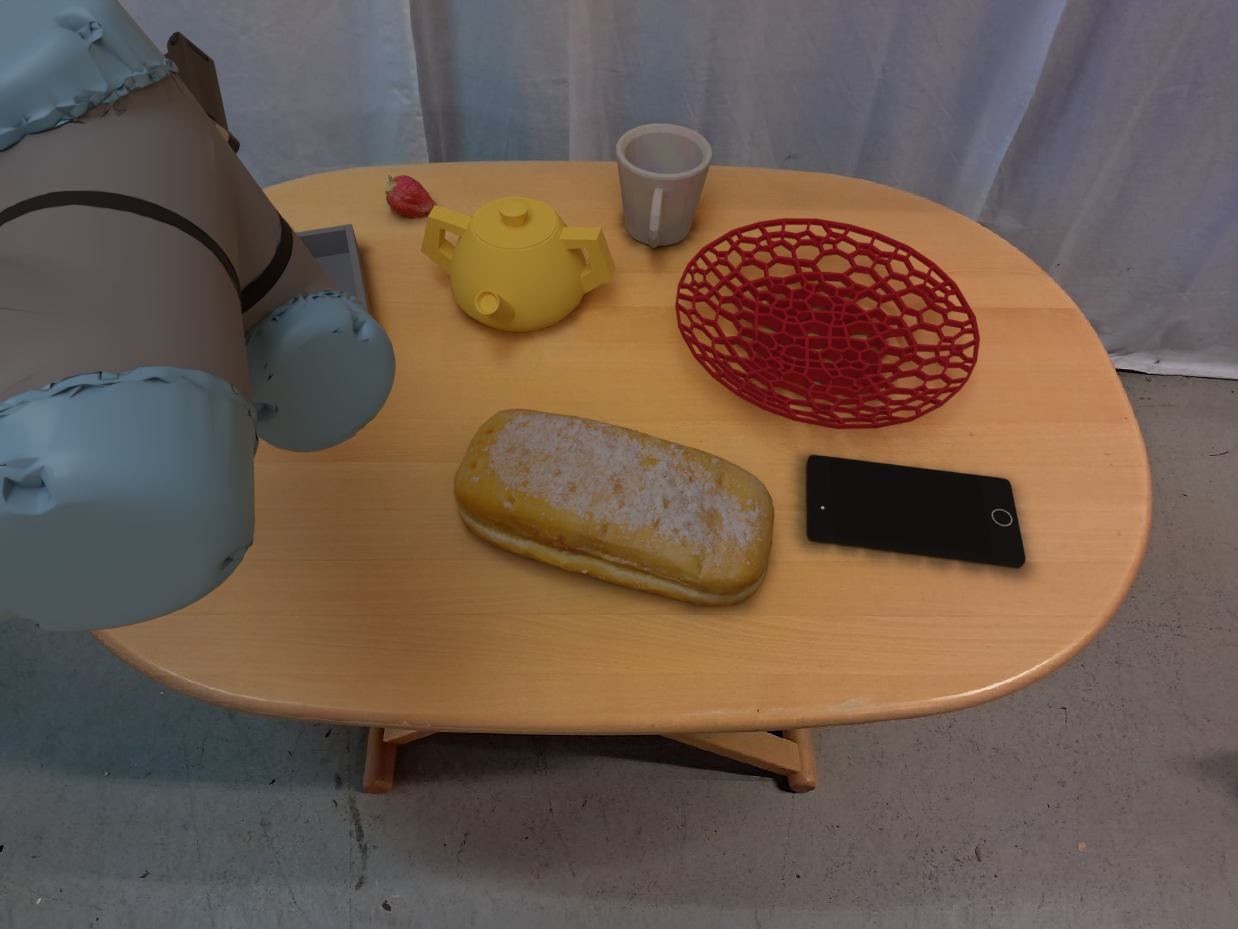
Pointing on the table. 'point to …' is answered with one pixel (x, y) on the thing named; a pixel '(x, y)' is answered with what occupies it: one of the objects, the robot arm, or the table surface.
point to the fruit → (408, 197)
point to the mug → (661, 180)
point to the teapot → (517, 262)
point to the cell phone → (912, 510)
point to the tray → (339, 259)
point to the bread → (617, 506)
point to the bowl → (825, 327)
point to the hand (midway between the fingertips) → (61, 139)
